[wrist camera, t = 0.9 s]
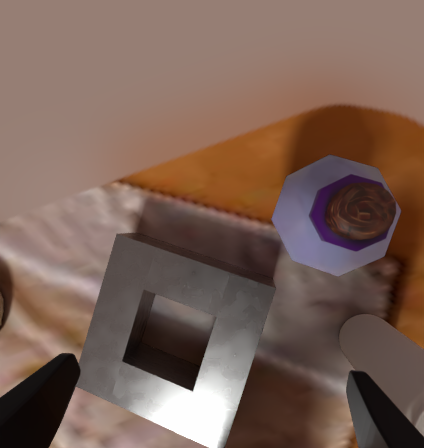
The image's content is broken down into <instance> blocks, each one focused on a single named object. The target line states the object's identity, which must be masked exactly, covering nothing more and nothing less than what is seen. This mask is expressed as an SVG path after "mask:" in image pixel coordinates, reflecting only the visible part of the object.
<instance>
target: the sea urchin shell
mask: <svg viewBox="0 0 424 448" xmlns="http://www.w3.org/2000/svg"><path fill="white" fill-rule="evenodd" d="M3 300H4V299H3V297H2V294H1V292H0V325H1V322H2V321H1V320H2V316H3V312H4V310H3V309H4V308H3Z"/></svg>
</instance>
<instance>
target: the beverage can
mask: <svg viewBox="0 0 424 448" xmlns="http://www.w3.org/2000/svg"><path fill="white" fill-rule="evenodd" d="M339 343H340V347H341V349H342V351H343V353H344V355H345V356H346V358H347V359H348V360H349V362H350V363H351V365H352V366H353V368H354V369H355V371H364V372H366V373H367V374H368V375H369V376H370V377H371V378H372V379H373V380H374V381H375V383H376V384H377V385H378V386H379V387H380V388H381V389H382V390H383V392H384V393H385V394H386V395H387V396H388V397H389V398H390V399H391V400H392V402H393V403H394V404H395V405H396V406H397V407H398V408H399V409H400V411H401V412H402V413H403V414H404V415H405V416H406V417H407V418H408V419H409V421H410V422H411V423H412V424H413V425H414V426H415V427H416V428H417V430H418V431H419V432H420V433H421V434H422V435H423V436H424V349H423V348H421V347H420V346H418V345H417V344H416V343H414V342H413V341H412V340H410V339H409V338H408V337H406V336H405V335H403V334H402V333H401V332H399V331H398V330H397V329H395V328H394V327H392V326H391V325H390V324H388V323H387V322H386V321H384V320H383V319H381V318H380V317H377V316H375V315H370V314H360V315H356V316H354V317H351V318H350V319H349V320H347V321H346V322H345V323H344V325H343V326H342V328H341V330H340V333H339Z"/></svg>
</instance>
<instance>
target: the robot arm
mask: <svg viewBox="0 0 424 448" xmlns="http://www.w3.org/2000/svg"><path fill="white" fill-rule="evenodd" d="M80 374H81V369H80V366H79V364H78V362H77V359H76V357H75V355H74V354H72V353H61V354H59V355H58V356H57V357H55V358H54V359H52V360H51V361H50V362H48V363H47V364H46V365H44V366H43V367H41V368H40V369H39V370H37V371H36V372H35V373H33V374H32V375H31V376H29V377H28V378H26V379H25V380H24V381H22V382H21V383H20V384H18V385H17V386H16V387H14V388H13V389H11V390H10V391H9V392H7V393H6V394H5V395H3V396H2V397H0V448H49V446H50V444H51V442H52V440H53V438H54V436H55V434H56V432H57V430H58V428H59V426H60V424H61V421H62V419H63V417H64V414H65V412H66V409H67V407H68V404H69V402H70V400H71V397H72V395H73V392H74V390H75V387H76V385H77V382H78V380H79V377H80ZM346 393H347V399H348V403H349V408H350V412H351V416H352V421H353V425H354V430H355V434H356V438H357V443H358V447H359V448H424V436H423V435H422V434H421V433H420V432H419V431H418V430H417V428H416V427H415V426H414V425H413V424H412V423H411V422H410V421H409V419H408V418H407V417H406V416H405V415H404V414H403V413H402V412H401V411H400V409H399V408H398V407H397V406H396V405H395V404H394V403H393V402H392V400H391V399H390V398H389V397H388V396H387V395H386V394H385V393H384V392H383V390H382V389H381V388H380V387H379V386H378V385H377V384H376V383H375V381H374V380H373V379H372V378H371V377H370V376H369V375H368V374H367V373H366V372H364V371H354V370H351V371H350V372H349V376H348V382H347V387H346Z"/></svg>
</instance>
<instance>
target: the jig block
mask: <svg viewBox="0 0 424 448" xmlns="http://www.w3.org/2000/svg"><path fill="white" fill-rule="evenodd" d="M275 290H276V287H275V284H274V281H273V279H272V278H269V277H266V276H263V275H260V274H257V273H254V272H251V271H248V270H245V269H242V268H239V267H236V266H233V265H230V264H227V263H224V262H221V261H218V260H216V259H213V258H210V257H207V256H204V255H201V254H198V253H195V252H192V251H189V250H186V249H183V248H180V247H177V246H174V245H171V244H168V243H165V242H162V241H159V240H156V239H153V238H150V237H147V236H144V235H141V234H138V233H123V234H117V235H116V238H115V242H114V245H113V249H112V252H111V255H110V259H109V262H108V266H107V269H106V272H105V276H104V279H103V283H102V286H101V289H100V293H99V296H98V300H97V303H96V307H95V310H94V313H93V317H92V320H91V324H90V327H89V330H88V334H87V337H86V341H85V344H84V347H83V351H82V354H81V358H80V361H79V366H80V369H81V374H80V377H79V380H78V382H77V385H76V387H78V388H81V389H83V390H85V391H87V392H89V393H91V394H94V395H96V396H98V397H100V398H102V399H105V400H107V401H109V402H111V403H113V404H116V405H118V406H120V407H122V408H124V409H126V410H129V411H131V412H133V413H135V414H137V415H140V416H142V417H144V418H146V419H148V420H151V421H153V422H155V423H157V424H159V425H161V426H164V427H166V428H168V429H170V430H172V431H175V432H177V433H179V434H181V435H183V436H186V437H188V438H190V439H192V440H194V441H196V442H199V443H201V444H203V445H205V446H207V447H210V448H225V445H226V442H227V439H228V436H229V433H230V430H231V426H232V423H233V420H234V417H235V414H236V411H237V408H238V405H239V402H240V399H241V395H242V392H243V389H244V386H245V383H246V380H247V377H248V374H249V371H250V368H251V364H252V361H253V358H254V355H255V352H256V349H257V346H258V343H259V340H260V337H261V334H262V330H263V327H264V324H265V321H266V318H267V315H268V312H269V309H270V306H271V303H272V299H273V296H274V293H275ZM155 294H157V295H160V296H163V297H165V298H168V299H171V300H173V301H176V302H179V303H182V304H184V305H187V306H190V307H192V308H195V309H198V310H200V311H203V312H206V313H208V314H211V315H214V316H216V320H215V323H214V326H213V330H212V333H211V336H210V339H209V342H208V346H207V349H206V352H205V355H204V358H203V361H202V365H201V367H200V366H197V365H195V364H192V363H190V362H188V361H185V360H183V359H180V358H178V357H175V356H173V355H170V354H168V353H166V352H163V351H161V350H158V349H156V348H153V347H151V346H148V345H146V344H143V343H141V339H142V336H143V333H144V330H145V326H146V323H147V320H148V316H149V313H150V310H151V306H152V303H153V300H154V297H155Z"/></svg>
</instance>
